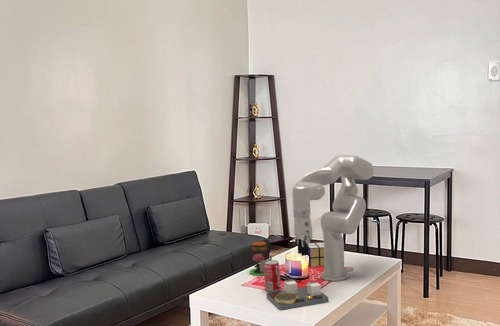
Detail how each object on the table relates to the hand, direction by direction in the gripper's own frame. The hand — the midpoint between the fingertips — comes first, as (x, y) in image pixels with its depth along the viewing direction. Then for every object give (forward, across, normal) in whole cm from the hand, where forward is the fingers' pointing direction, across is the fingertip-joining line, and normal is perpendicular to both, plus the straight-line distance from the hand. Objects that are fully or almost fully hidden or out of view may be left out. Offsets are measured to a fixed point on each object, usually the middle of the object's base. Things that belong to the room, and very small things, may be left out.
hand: (303, 253), depth 242 cm
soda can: (+17, +8, +12) cm, 23 cm away
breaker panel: (+17, -8, +7) cm, 20 cm away
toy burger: (+17, +34, +9) cm, 39 cm away
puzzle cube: (+17, +35, -23) cm, 45 cm away
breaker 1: (+15, -4, +8) cm, 17 cm away
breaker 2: (+15, -10, 0) cm, 18 cm away
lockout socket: (+15, -11, +13) cm, 23 cm away
